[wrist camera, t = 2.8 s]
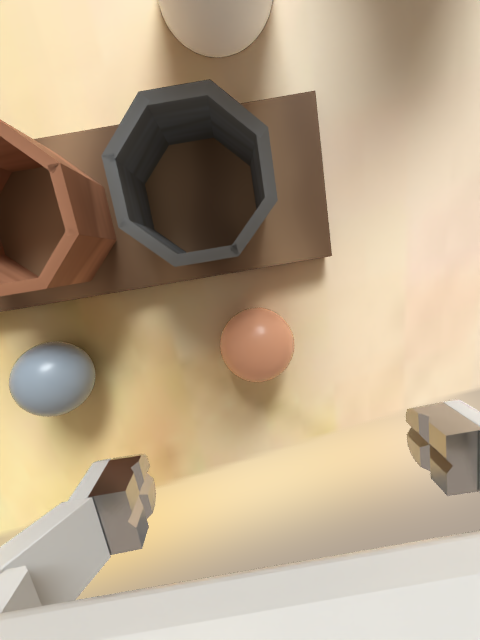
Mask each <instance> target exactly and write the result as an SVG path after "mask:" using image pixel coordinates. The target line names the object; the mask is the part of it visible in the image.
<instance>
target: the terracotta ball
mask: <svg viewBox="0 0 480 640" xmlns="http://www.w3.org/2000/svg"><path fill="white" fill-rule="evenodd" d="M220 349H221V355H222V358H223V360H224V362H225V364H226V366H227V367H228V368H229V370H230V371H231V372H232V373H234V374H235V375H236V376H238V377H240V378H242V379H244V380H247V381H251V382H263V381H268V380H271V379H273V378H275V377H277V376H278V375H280V374H281V373H282V372H283V371H284V370H285V369H286V368H287V366H288V365H289V363H290V361H291V359H292V356H293V352H294V339H293V334H292V331H291V329H290V327H289V325H288V324H287V323H286V321H285V320H284V319H283V318H282V317H281V316H279V315H278V314H276V313H275V312H273V311H271V310H268V309H264V308H250V309H246V310H243V311H241V312H239V313H237V314H236V315H234V316H233V317H232V318H231V319H230V320H229V321H228V323H227V324H226V326H225V327H224V329H223V332H222V335H221V340H220Z"/></svg>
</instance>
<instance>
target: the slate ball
mask: <svg viewBox="0 0 480 640" xmlns="http://www.w3.org/2000/svg"><path fill="white" fill-rule="evenodd" d="M95 376H96V375H95V367H94V364H93V362H92V360H91V358H90V357H89V356H88V354H87V353H86V352H85V351H84V350H82V349H81V348H79V347H77V346H75V345H73V344H70V343H66V342H47V343H43V344H40V345H37V346H35V347H33V348H31V349H29V350H28V351H26V352H25V353H24V354H23V355H22V356H21V357H20V358H19V359H18V360H17V361H16V363H15V364H14V366H13V368H12V370H11V373H10V378H9V388H10V392H11V395H12V397H13V399H14V400H15V402H16V403H17V404H18V405H19V406H20V407H21V408H22V409H24V410H26V411H27V412H29V413H32V414H34V415H39V416H58V415H62V414H65V413H68V412H70V411H72V410H74V409H75V408H77V407H78V406H80V405H81V404H82V403H83V402H84V401H85V400H86V399H87V397H88V396H89V395H90V393H91V391H92V389H93V387H94V383H95Z"/></svg>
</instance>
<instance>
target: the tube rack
mask: <svg viewBox="0 0 480 640" xmlns="http://www.w3.org/2000/svg"><path fill="white" fill-rule="evenodd" d="M328 256H332V253H331V243H330V233H329V223H328V213H327V203H326V193H325V183H324V173H323V163H322V153H321V143H320V133H319V123H318V113H317V103H316V93H315V91H311V92H305V93H299V94H293V95H287V96H282V97H276V98H270V99H264V100H259V101H253V102H247V103H241V104H240V103H238V102H237V101H236V100H235V99H233V98H232V97H231V96H230V95H229V94H227V93H226V92H225V91H224V90H222V89H221V88H220V87H219V86H218V85H216V84H215V83H214V82H213V81H211V80H210V79H209V80H203V81H198V82H192V83H186V84H180V85H174V86H169V87H163V88H157V89H151V90H146V91H140V92H138V94H137V95H136V97H135V99H134V100H133V102H132V104H131V106H130V107H129V109H128V111H127V112H126V114H125V116H124V118H123V119H122V121H121V123H120V124H119V125H114V126H108V127H102V128H96V129H91V130H85V131H79V132H73V133H67V134H62V135H56V136H50V137H44V138H38V139H32V138H30V137H29V136H27V135H25V134H24V133H22V132H20V131H19V130H17V129H15V128H13V127H12V126H10V125H8V124H7V123H5V122H3V121H2V120H0V312H2V311H8V310H14V309H20V308H25V307H31V306H37V305H43V304H49V303H55V302H61V301H67V300H73V299H79V298H85V297H91V296H97V295H103V294H109V293H115V292H120V291H126V290H132V289H138V288H144V287H150V286H156V285H162V284H168V283H174V282H180V281H186V280H192V279H198V278H204V277H210V276H216V275H221V274H227V273H233V272H239V271H245V270H251V269H257V268H263V267H269V266H275V265H281V264H287V263H293V262H299V261H305V260H311V259H316V258H322V257H328Z"/></svg>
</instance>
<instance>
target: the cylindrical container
mask: <svg viewBox="0 0 480 640" xmlns="http://www.w3.org/2000/svg"><path fill="white" fill-rule="evenodd" d="M272 2H273V0H158V3H159V6H160V9H161V13H162V16H163V18H164V20H165V22H166V24H167V26H168V28H169V29H170V30H171V32H172V33H173V34H174V36H175V37H176V38H177V39H178V40H179V41H180V42H181V43H182V44H183V45H184V46H185V47H187V48H189V49H190V50H192V51H194V52H196V53H198V54H201V55H204V56H207V57H225V56H230V55H233V54H236V53H238V52H240V51H242V50H243V49H245V48H247V47H248V46H249V45H250V44H251V43H252V42H253V41H254V40H255V39H256V38H257V37H258V36H259V34H260V33H261V31H262V30H263V28H264V26H265V24H266V22H267V19H268V17H269V14H270V10H271V6H272Z"/></svg>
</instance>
